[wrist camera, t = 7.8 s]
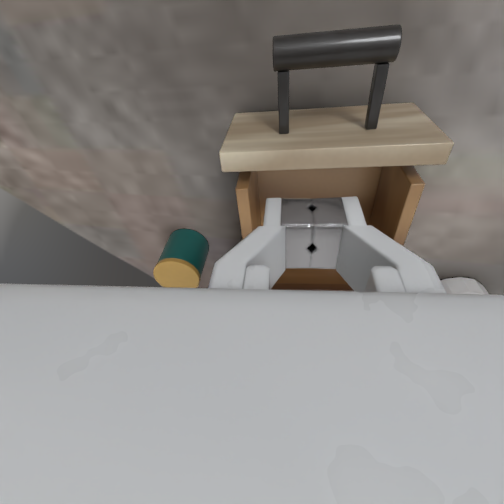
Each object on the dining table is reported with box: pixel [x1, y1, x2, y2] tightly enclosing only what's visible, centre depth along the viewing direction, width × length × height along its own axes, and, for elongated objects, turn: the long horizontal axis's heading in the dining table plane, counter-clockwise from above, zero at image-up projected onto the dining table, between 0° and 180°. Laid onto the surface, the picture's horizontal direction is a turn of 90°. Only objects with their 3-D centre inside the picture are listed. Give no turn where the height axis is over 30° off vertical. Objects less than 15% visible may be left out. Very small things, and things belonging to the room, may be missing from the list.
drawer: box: [219, 25, 454, 284], centre depth 20 cm, size 17×12×7 cm
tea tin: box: [153, 229, 209, 288], centre depth 30 cm, size 4×4×5 cm
